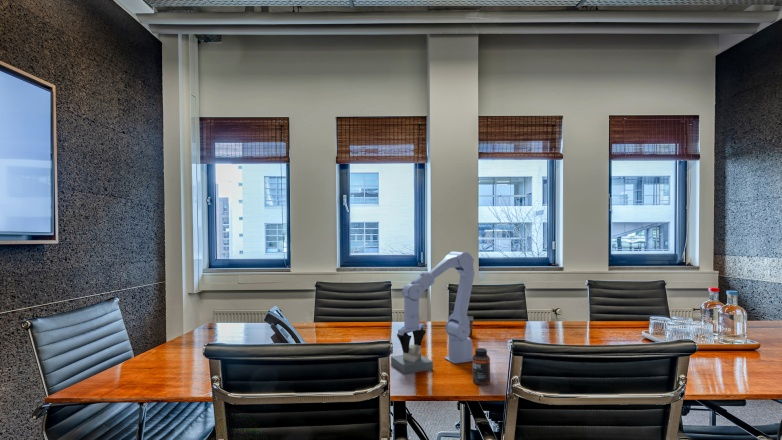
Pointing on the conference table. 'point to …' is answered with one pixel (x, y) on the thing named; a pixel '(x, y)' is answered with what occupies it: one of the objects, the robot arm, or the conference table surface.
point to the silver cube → (413, 353)
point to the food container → (470, 324)
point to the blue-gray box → (411, 364)
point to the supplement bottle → (481, 367)
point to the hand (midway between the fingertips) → (411, 350)
